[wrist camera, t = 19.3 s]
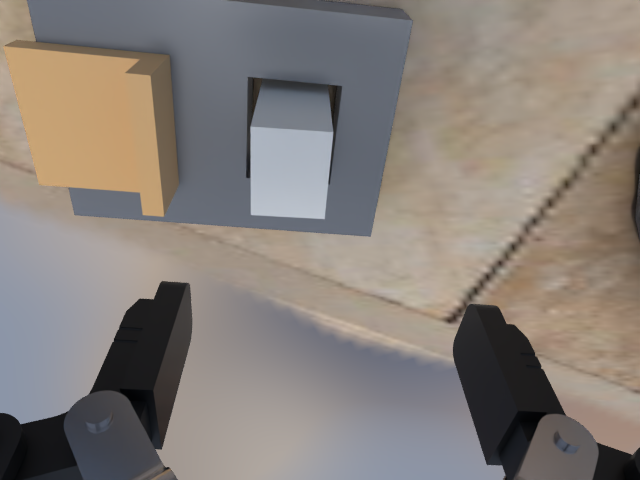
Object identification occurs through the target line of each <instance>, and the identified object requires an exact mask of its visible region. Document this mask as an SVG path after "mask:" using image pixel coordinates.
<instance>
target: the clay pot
mask: <svg viewBox="0 0 640 480" xmlns="http://www.w3.org/2000/svg"><path fill="white" fill-rule="evenodd" d="M635 219H636V224H637V228H638V233H639V238H640V176H639V185H638V194H637V205H636V215H635Z"/></svg>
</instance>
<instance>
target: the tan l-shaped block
mask: <svg viewBox="0 0 640 480" xmlns="http://www.w3.org/2000/svg"><path fill="white" fill-rule="evenodd" d="M3 47H4V51H5V55H6V59H7V62H8V66H9V70H10V74H11V78H12V82H13V85H14V89H15V93H16V97H17V101H18V105H19V109H20V112H21V116H22V120H23V124H24V128H25V132H26V135H27V139H28V143H29V147H30V151H31V155H32V159H33V162H34V166H35V170H36V174H37V178H38V182H39V185H47V186H60V187H73V188H86V189H99V190H112V191H125V192H138V193H140V197H141V205H142V213H143V215H147V216H161V217H164V216H165V214H166V212H167V210H168V207H169V205H170V203H171V201H172V199H173V197H174V194H175V192H176V190H177V188H178V186H179V176H178V163H177V149H176V135H175V122H174V108H173V94H172V80H171V67H170V55H164V54H154V53H144V52H134V51H124V50H114V49H104V48H93V47H83V46H73V45H63V44H53V43H43V42H33V41H23V40H16V41H14V42H11V43H9V44H7V45H5V46H3Z"/></svg>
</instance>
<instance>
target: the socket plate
mask: <svg viewBox="0 0 640 480" xmlns="http://www.w3.org/2000/svg"><path fill="white" fill-rule="evenodd" d="M27 2H28V7H29V11H30V16H31V20H32V25H33V29H34V34H35V38H36V42H43V43H53V44H63V45H73V46H83V47H93V48H104V49H114V50H124V51H134V52H144V53H154V54H164V55H170V67H171V80H172V94H173V108H174V122H175V135H176V149H177V163H178V176H179V186H178V188H177V190H176V192H175V194H174V197H173V199H172V201H171V203H170V205H169V207H168V210H167V212H166V214H165V216H164V217H161V216H147V215H143V213H142V205H141V197H140V193H138V192H125V191H112V190H99V189H86V188H73V187H69V192H70V196H71V201H72V205H73V210H74V214H75V215H80V216H94V217H108V218H122V219H135V220H149V221H163V222H177V223H190V224H204V225H218V226H232V227H246V228H259V229H273V230H287V231H301V232H314V233H328V234H342V235H356V236H369V237H371V232H372V227H373V222H374V217H375V211H376V206H377V201H378V196H379V191H380V186H381V181H382V176H383V171H384V166H385V161H386V155H387V150H388V145H389V140H390V135H391V130H392V125H393V120H394V115H395V110H396V104H397V99H398V94H399V89H400V84H401V79H402V74H403V69H404V64H405V59H406V54H407V48H408V43H409V38H410V33H411V28H412V23H413V20H412V19H411V18H410V17H409V16H408V15H407V14H406V13H405V12H404V11H403V9H396V8H387V7H378V6H369V5H360V4H350V3H341V2H332V1H323V0H27ZM253 77H255V78H265V79H275V80H286V81H296V82H306V83H317V84H327V85H337V91H336V99H335V107H334V115H333V124H332V125H333V140H332V150H331V160H330V170H329V180H328V190H327V200H326V210H325V219H313V218H295V217H277V216H259V215H251V133H250V127H251V123H252V100H253Z"/></svg>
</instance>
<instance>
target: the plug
mask: <svg viewBox="0 0 640 480" xmlns="http://www.w3.org/2000/svg"><path fill="white" fill-rule="evenodd" d="M250 133H251V215H259V216H277V217H295V218H313V219H325V210H326V200H327V190H328V180H329V170H330V160H331V150H332V140H333V125H332V117H331V108H330V100H329V92H328V85H327V84H317V83H306V82H296V81H286V80H275V79H265V78H263V80H262V84H261V88H260V91H259V95H258V99H257V103H256V107H255V111H254V115H253V119H252V123H251V127H250Z"/></svg>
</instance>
